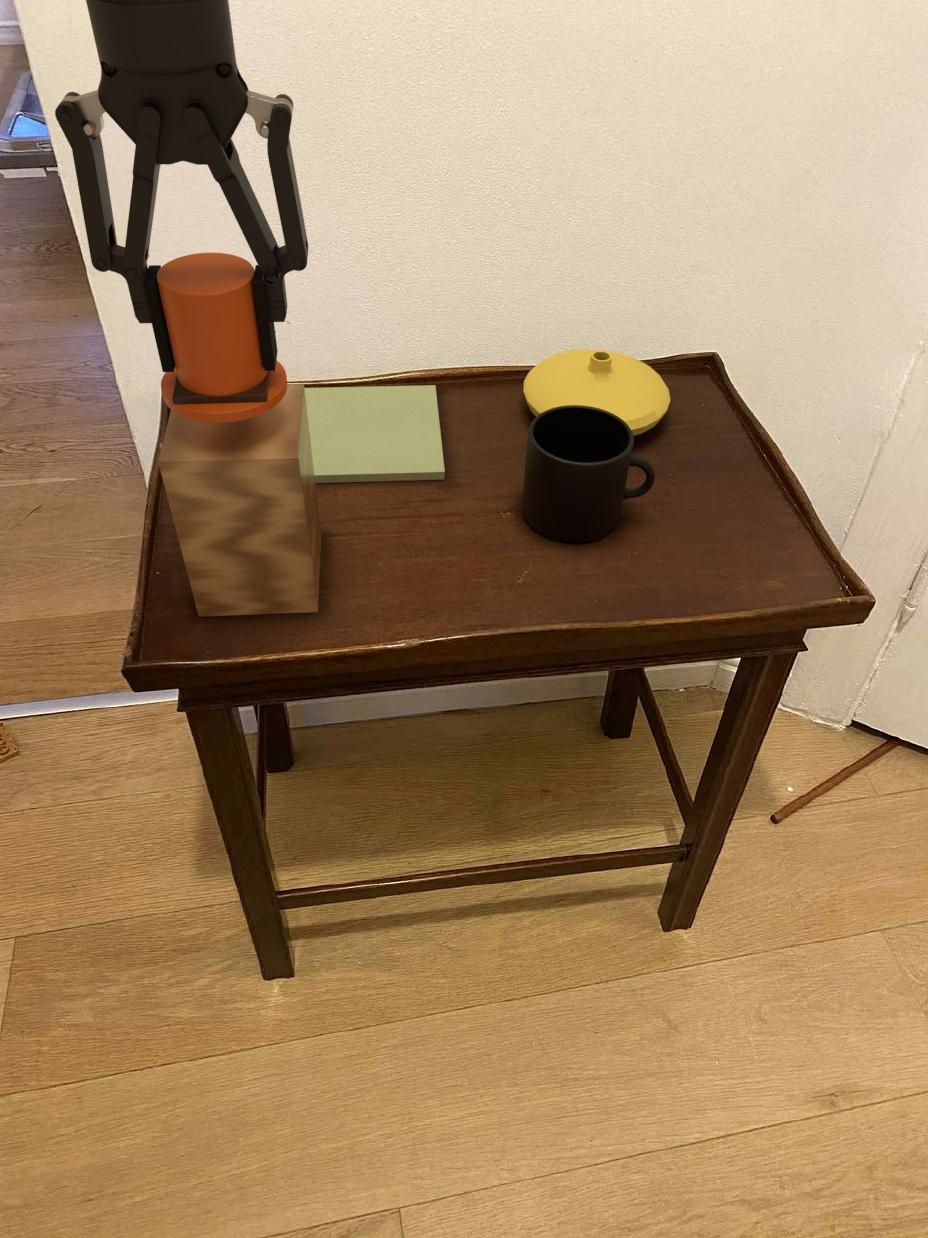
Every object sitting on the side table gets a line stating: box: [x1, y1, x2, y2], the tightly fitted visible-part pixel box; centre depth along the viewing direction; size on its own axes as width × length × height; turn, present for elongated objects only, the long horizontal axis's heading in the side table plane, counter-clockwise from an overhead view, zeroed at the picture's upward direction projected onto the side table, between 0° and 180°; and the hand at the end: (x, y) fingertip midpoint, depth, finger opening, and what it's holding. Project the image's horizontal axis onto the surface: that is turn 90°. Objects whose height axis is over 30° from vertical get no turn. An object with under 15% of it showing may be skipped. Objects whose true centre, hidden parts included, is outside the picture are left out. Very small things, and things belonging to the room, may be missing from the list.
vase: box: [522, 348, 671, 437], centre depth 97 cm, size 16×16×7 cm
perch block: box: [157, 383, 322, 618], centre depth 75 cm, size 10×10×16 cm
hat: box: [156, 252, 288, 423], centre depth 64 cm, size 9×9×9 cm
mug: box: [521, 405, 656, 544], centre depth 85 cm, size 9×12×9 cm
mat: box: [304, 384, 446, 484], centre depth 95 cm, size 18×16×1 cm
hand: (221, 360), depth 66 cm, fingers closed on hat, 6 cm apart
